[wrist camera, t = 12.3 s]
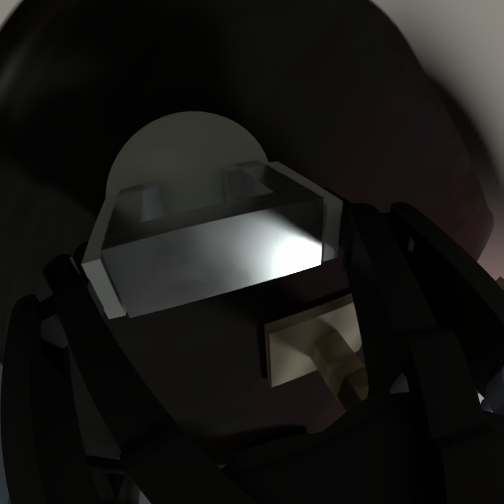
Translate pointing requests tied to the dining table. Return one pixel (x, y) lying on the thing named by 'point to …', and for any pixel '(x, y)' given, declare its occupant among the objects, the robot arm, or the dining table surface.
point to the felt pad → (183, 158)
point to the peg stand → (317, 343)
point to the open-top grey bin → (211, 239)
